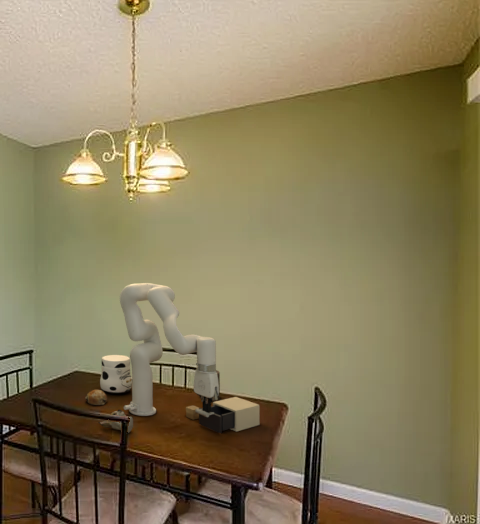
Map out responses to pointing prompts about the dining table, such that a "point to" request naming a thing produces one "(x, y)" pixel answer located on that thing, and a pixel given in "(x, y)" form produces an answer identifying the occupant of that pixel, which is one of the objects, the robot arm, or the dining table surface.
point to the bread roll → (96, 397)
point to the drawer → (217, 418)
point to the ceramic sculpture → (116, 424)
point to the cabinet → (241, 412)
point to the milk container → (116, 374)
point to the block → (192, 412)
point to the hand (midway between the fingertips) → (206, 411)
